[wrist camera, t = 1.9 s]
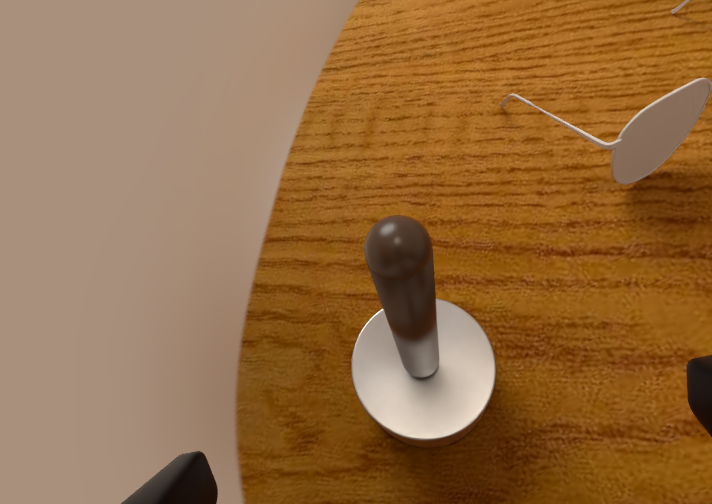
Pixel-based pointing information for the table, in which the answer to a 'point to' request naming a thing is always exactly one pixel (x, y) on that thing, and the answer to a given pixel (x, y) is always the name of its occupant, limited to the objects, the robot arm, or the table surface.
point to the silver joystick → (418, 345)
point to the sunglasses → (650, 129)
